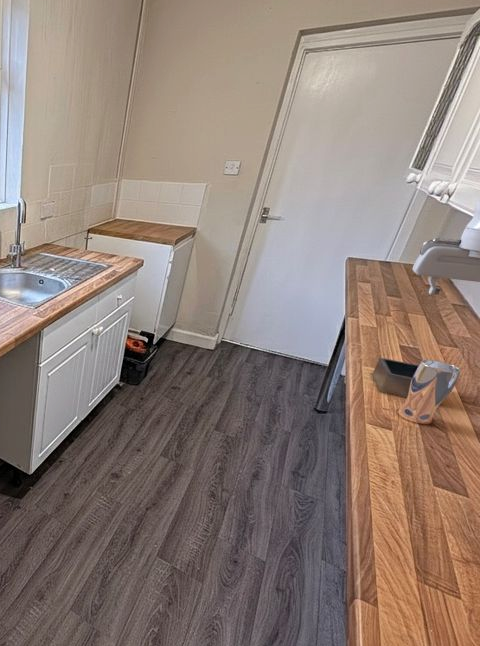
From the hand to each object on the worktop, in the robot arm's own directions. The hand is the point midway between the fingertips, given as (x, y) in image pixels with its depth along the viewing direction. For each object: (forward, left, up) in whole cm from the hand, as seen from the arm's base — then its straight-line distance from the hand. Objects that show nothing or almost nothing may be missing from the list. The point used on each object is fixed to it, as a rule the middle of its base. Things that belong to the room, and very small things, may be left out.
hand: (459, 297), depth 102 cm
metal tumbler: (+2, +13, -29) cm, 32 cm away
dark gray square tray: (+1, -4, -29) cm, 29 cm away
